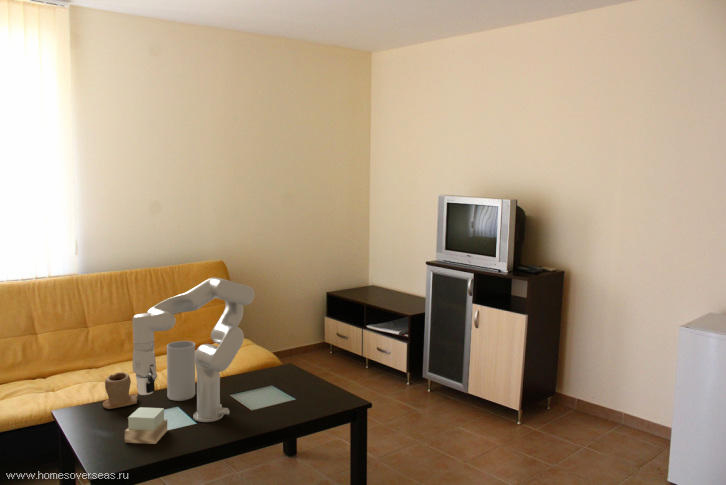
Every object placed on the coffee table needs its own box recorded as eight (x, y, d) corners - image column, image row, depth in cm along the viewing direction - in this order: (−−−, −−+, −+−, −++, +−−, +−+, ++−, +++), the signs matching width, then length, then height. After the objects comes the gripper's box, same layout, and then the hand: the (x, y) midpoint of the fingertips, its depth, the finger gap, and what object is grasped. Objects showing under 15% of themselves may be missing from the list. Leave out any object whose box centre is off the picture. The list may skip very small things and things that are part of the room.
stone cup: (105, 413, 246) (104, 380, 245) (101, 404, 256) (100, 372, 255) (142, 407, 254) (141, 374, 253) (137, 398, 264) (136, 367, 263)
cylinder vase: (191, 390, 277) (191, 339, 275) (198, 398, 266) (198, 346, 264) (164, 394, 270) (164, 343, 268) (170, 403, 260) (170, 349, 257)
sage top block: (164, 420, 229) (164, 408, 229) (153, 430, 220) (153, 418, 219) (139, 419, 230) (139, 407, 229) (128, 429, 220) (128, 417, 219)
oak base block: (167, 431, 231) (167, 419, 230) (155, 444, 219) (155, 432, 218) (138, 430, 231) (138, 418, 231) (124, 443, 219) (124, 430, 219)
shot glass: (148, 396, 220) (148, 378, 219) (132, 394, 221) (132, 377, 220) (158, 389, 226) (157, 372, 225) (143, 388, 228) (142, 371, 227)
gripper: (123, 343, 224) (125, 387, 226) (146, 352, 213) (148, 398, 215) (141, 339, 230) (143, 382, 232) (165, 347, 219) (166, 392, 221)
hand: (145, 389), depth 223 cm, fingers closed on shot glass, 6 cm apart
